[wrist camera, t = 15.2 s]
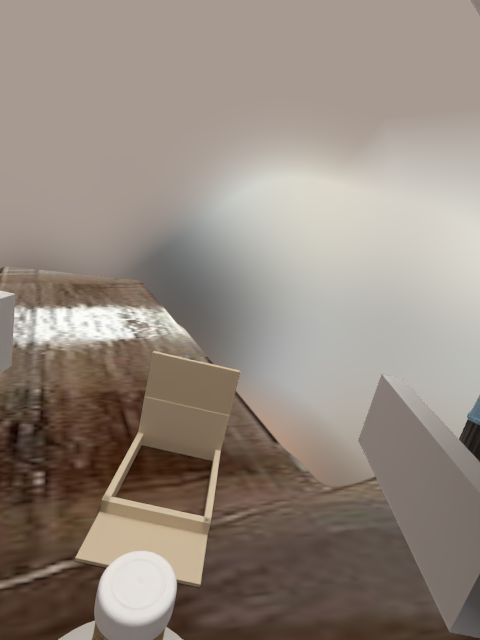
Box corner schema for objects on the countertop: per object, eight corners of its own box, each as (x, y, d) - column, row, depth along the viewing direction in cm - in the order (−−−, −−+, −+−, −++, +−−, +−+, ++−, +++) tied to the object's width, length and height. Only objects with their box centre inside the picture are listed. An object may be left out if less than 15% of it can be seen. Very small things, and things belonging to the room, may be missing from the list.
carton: (199, 587, 37) (232, 460, 33) (74, 561, 36) (93, 429, 32) (218, 458, 56) (240, 370, 53) (137, 440, 56) (154, 350, 52)
